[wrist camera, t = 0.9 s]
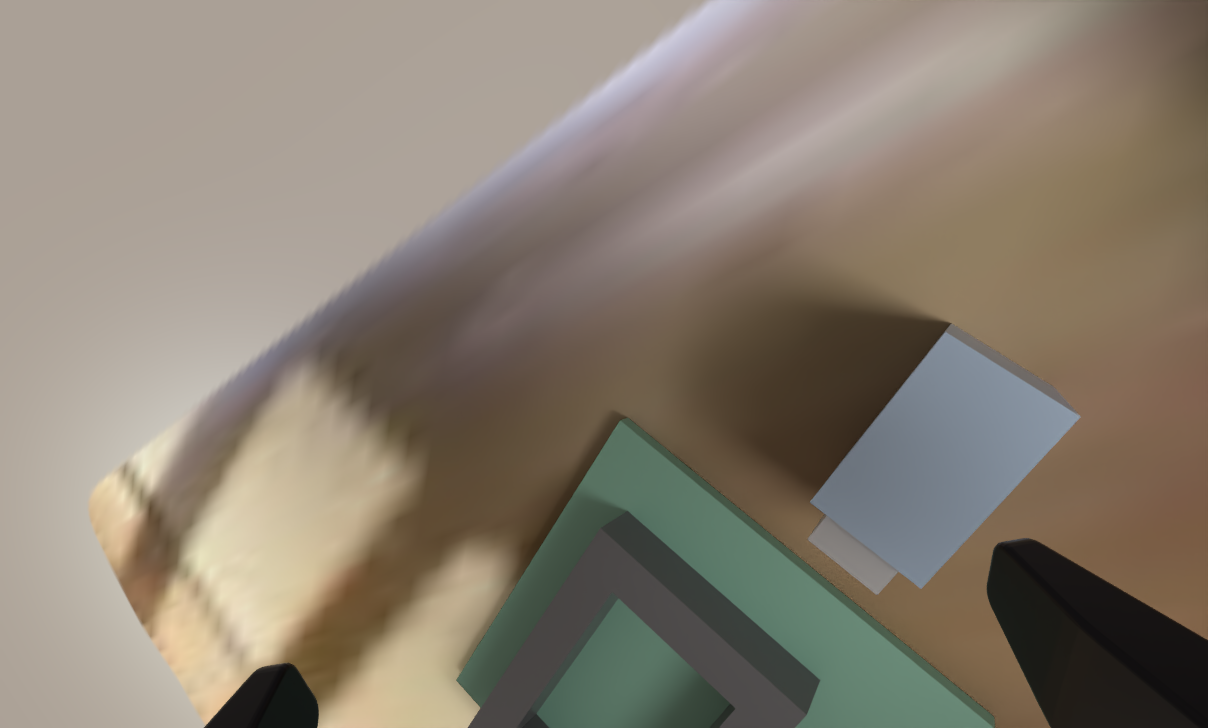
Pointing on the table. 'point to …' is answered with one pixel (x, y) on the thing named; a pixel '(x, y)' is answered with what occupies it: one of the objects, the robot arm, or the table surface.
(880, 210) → the table surface
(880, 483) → the plug
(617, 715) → the circuit board
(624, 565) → the header socket
